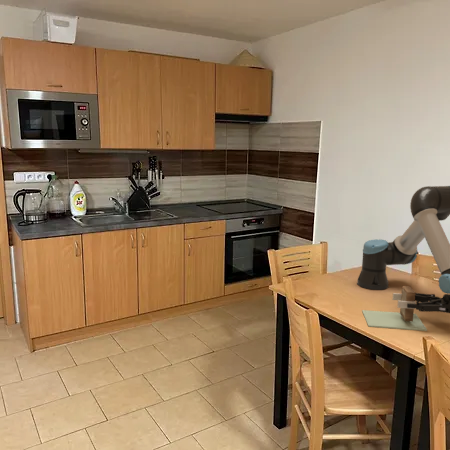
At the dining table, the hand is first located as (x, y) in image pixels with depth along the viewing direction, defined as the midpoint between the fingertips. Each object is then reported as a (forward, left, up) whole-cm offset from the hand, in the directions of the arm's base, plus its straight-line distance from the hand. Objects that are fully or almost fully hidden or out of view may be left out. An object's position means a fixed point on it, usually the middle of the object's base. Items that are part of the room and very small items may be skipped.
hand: (395, 300), depth 172 cm
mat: (0, 0, -9) cm, 9 cm away
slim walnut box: (+3, +3, -7) cm, 8 cm away
